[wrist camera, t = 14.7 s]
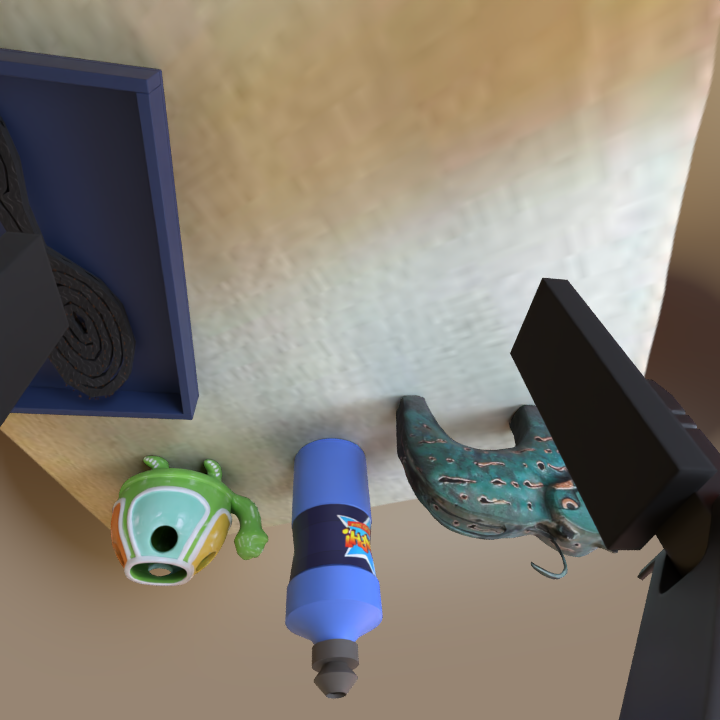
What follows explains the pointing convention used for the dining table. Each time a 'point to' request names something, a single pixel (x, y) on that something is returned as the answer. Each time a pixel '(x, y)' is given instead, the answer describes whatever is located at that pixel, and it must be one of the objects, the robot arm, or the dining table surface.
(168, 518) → the turtle holder
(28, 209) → the hairbrush
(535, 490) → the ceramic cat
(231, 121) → the dining table surface
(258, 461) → the dining table surface
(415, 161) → the dining table surface
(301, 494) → the water bottle
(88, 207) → the tray
